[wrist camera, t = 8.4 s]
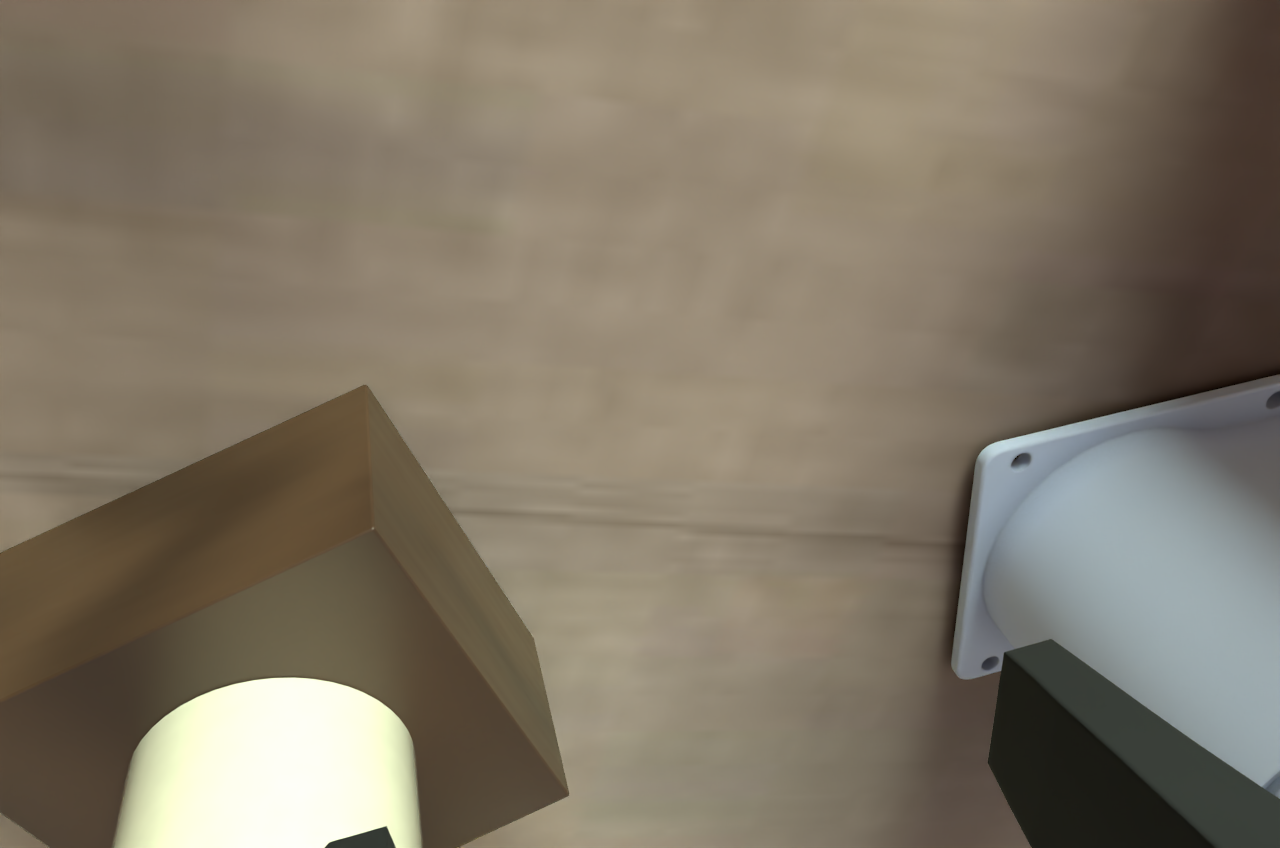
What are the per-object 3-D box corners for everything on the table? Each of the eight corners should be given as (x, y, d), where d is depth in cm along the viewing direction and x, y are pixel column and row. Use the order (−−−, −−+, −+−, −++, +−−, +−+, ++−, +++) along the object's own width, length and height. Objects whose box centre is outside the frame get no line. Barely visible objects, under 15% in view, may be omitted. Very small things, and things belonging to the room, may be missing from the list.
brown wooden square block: (366, 382, 19) (373, 527, 15) (533, 638, 24) (569, 796, 20) (-15, 558, 19) (-98, 745, 15) (228, 780, 24) (209, 963, 20)
